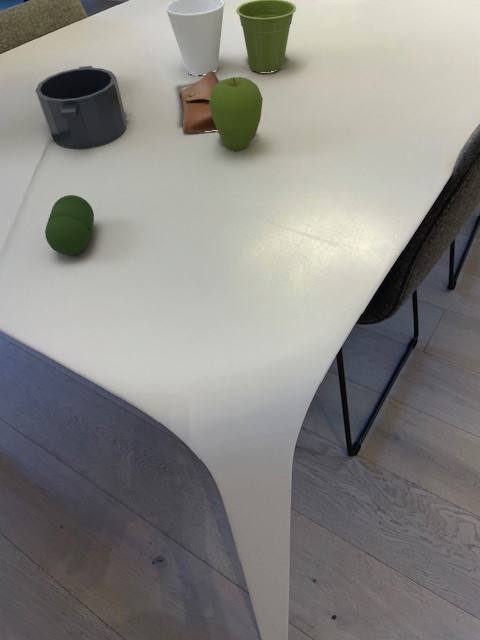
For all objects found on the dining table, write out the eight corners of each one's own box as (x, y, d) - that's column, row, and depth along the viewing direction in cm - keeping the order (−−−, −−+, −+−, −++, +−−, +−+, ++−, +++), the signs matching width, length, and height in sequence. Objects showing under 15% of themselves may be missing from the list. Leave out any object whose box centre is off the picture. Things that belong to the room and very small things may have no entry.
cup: (164, 77, 106) (153, 11, 96) (191, 56, 113) (183, -7, 103) (213, 84, 102) (207, 16, 93) (238, 62, 109) (234, -3, 100)
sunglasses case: (176, 91, 99) (189, 58, 95) (208, 105, 102) (221, 74, 98) (182, 133, 87) (197, 98, 83) (217, 148, 90) (234, 114, 86)
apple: (248, 165, 79) (244, 93, 71) (204, 154, 83) (195, 84, 74) (272, 140, 84) (271, 70, 76) (230, 131, 87) (224, 63, 79)
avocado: (91, 261, 66) (78, 227, 61) (49, 265, 66) (34, 231, 61) (101, 218, 72) (90, 185, 68) (63, 222, 72) (49, 188, 68)
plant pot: (254, 83, 101) (251, 22, 92) (231, 64, 108) (226, 5, 100) (304, 71, 103) (307, 10, 95) (279, 53, 111) (279, -5, 103)
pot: (42, 160, 85) (23, 111, 78) (63, 110, 98) (48, 65, 91) (121, 153, 85) (108, 104, 78) (131, 104, 97) (121, 59, 91)
